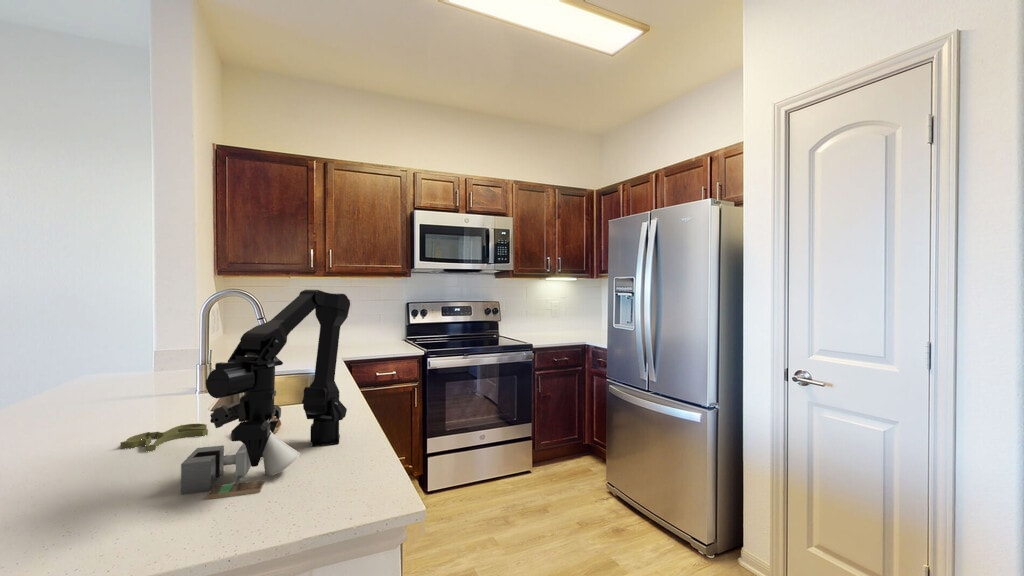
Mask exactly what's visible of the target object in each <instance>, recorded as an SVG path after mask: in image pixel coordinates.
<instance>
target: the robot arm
mask: <svg viewBox="0 0 1024 576" xmlns="http://www.w3.org/2000/svg"><path fill="white" fill-rule="evenodd" d="M350 308H351V300H350V299H349V298H348V295H347V294H346V293H333V292H331V293H330V292H325V291H323V290H321V289H303V290H301V291H300V292H299V294H298V296H296V297H295V298H293V300H292V301H291V302H290V303H288V304H287V305H286V306H285V307H284V308H282V310H281V311H279V312H278V313H277V314H276V315H275V316H274V317H273V318H271V319H270V320H269V321H267V322H264V323H261V324H259V325H255V326H254V327H252V328H251V329H249V330H247V331H246V332H244V333H243V334H242V336H240V338H239V340H240V341H239V342H238V344H237V346H236V347H235V349H234V350H233V352H232V354H230V356H229V358H228V359H227V362H222V361H221V362H215V364H214V365H215V369H213V370H212V371H210V373H209V374H208V376H207V378H206V380H205V387H206V388H205V389H206V392H207V394H209V395H210V396H211V397H212V398H214V399H223V398H226V397H231V396H235V395H239V394H243V395H241V396H240V397H239V400H238V401H237V402H236V401H235V402H233V403H230V404H228V405H225V404H223V405H221V406H219V407H216V408H214V409H213V412H211V413H210V420H209V422H210V423H211V424H214V427H215V429H219V428H221V427H223V426H224V425H227V424H230V423H232V422H234V421H237V420H238V422H239V423H238V424H237V425H235V427H234V428H233V429H232V430H231V433H230V441H231V442H241V443H242V444H243V443H244V444H245V446H246V449H247V452H248V456H249V459H250V463H251V467H252V468H255V467H258V466H259V464H260V462H261V459H262V458H263V455H262V454H263V452H264V449H265V447H266V445H267V442H268V440H269V437H270V435H271V432H272V433H274V430H275V428H276V426H277V424H278V421H271V419H272V418H273V417H276V419H280V418H281V416H282V408H281V407H280V406H279V405H278V404H275V397H276V396H277V390H275V389H276V388H275V386H276V385H275V383H276V380H275V379H276V378H275V377H276V367H278V366H283V364H284V362H283V361H282V360H281V359H280V358H278V357H277V355H279V354H280V352H281V351H282V350H283V348H284V347H285V346H286V344H287V342H288V336H289V334H291V332H292V331H293V330H294V329H295V328H296V327H297V326H298V325H300V324H301V323H302V321H303V320H305V319H306V317H308V316H309V315H310V314H311V312H313V311H315V317H316V319H317V321H318V323H319V334H318V344H317V352H316V360H315V368H314V376H313V381H312V382H311V383H310V385H309V386H305V387H304V389H303V397H302V400H301V404H303V405H302V407H303V410H304V413H305V417H306V419H307V420H312V423H311V425H310V436H309V437H310V438H309V439H310V442H311V446H312V447H320V446H328V445H337V444H340V438H341V435H340V421H343V420H344V418H346V416H347V411H348V409H347V407H346V406H345V405H344V404H343V402H341V400H340V390H339V387H338V385H337V383H336V381H335V377H336V368H337V359H338V350H339V349H338V348H339V342H340V340H339V339H340V334H341V332H340V331H341V327H342V325H343V324H344V323H345V321H346V320H347V319H348V317H349V311H350ZM244 421H247V422H244ZM270 430H271V432H270ZM274 434H275V433H274Z"/></svg>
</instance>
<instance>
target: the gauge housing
mask: <svg viewBox="0 0 1024 576" xmlns="http://www.w3.org/2000/svg"><path fill="white" fill-rule="evenodd" d="M224 456H225V445H215V446H205V447H196V448H195V450H194V451H193V452H192V453H190V454H189V455H188V457H187V458H185V460H184V461H182V463H181V465H180V495H189V494H195V493H202V492H208V493H207V495H206V500H213V499H219V498H220V499H221V498H227V497H235V496H242V495H251V494H256V493H257V494H258V493H259V494H260V493H261V491H262V489H263V488H264V485H265V479H261V480H260V479H259V480H252V481H251V480H250V481H246V482H245V481H244V482H239V483H238V484H237V486H233V483H234V482H233V483H225V484H223V485H222V484H221V485H216V479H220V478H221V477H222V476H223V475H224V472H225V470H224V469H225V468H224V467H225V465H223V458H224Z"/></svg>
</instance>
